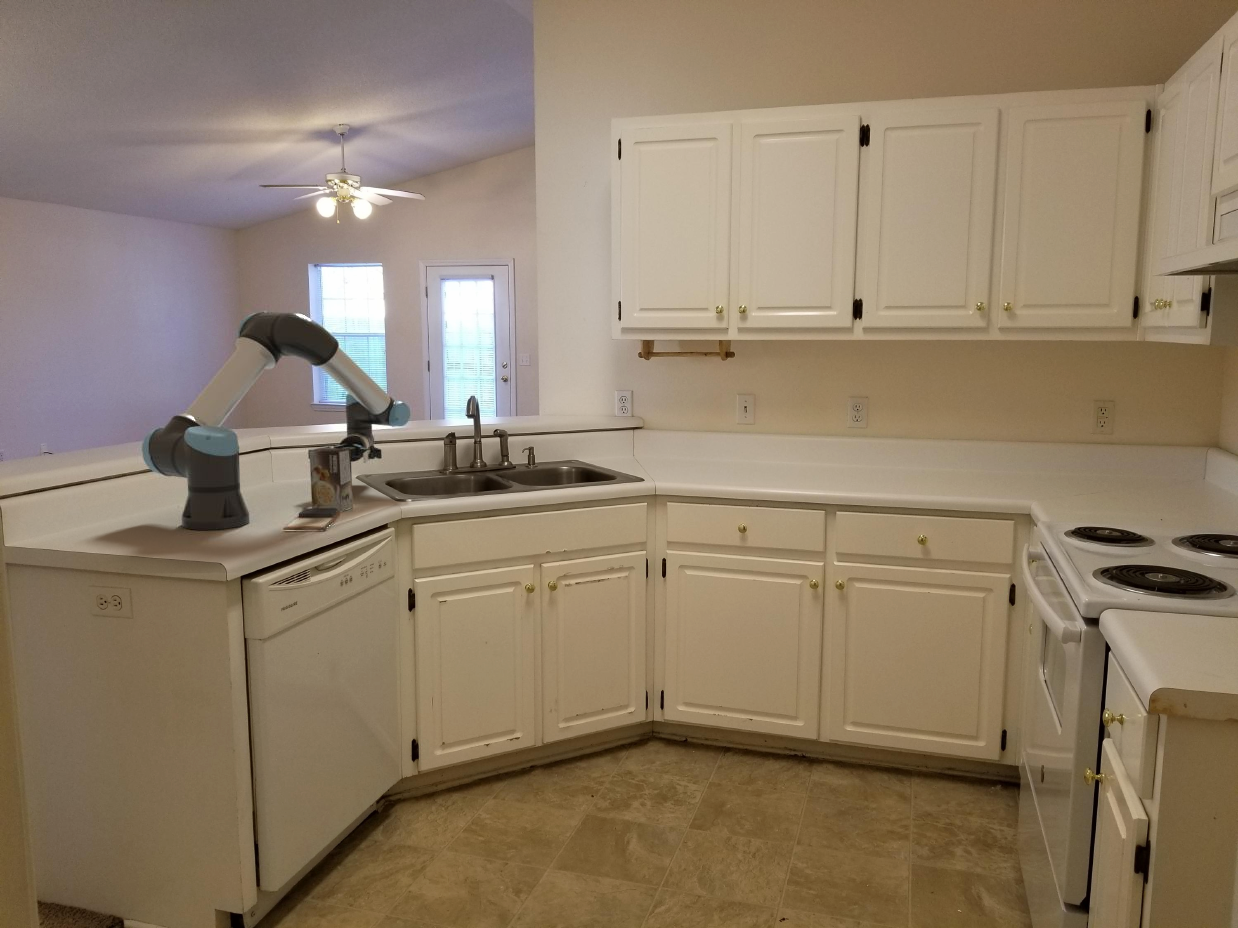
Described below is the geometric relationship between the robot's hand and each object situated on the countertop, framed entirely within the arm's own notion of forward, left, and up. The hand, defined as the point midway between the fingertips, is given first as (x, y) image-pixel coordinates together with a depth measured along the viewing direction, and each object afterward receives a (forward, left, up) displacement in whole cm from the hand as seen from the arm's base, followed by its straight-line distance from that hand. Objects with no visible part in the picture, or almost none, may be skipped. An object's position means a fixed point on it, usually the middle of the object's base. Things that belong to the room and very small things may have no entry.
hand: (339, 458), depth 248 cm
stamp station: (-1, -28, -12) cm, 30 cm away
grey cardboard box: (0, -10, -12) cm, 16 cm away
